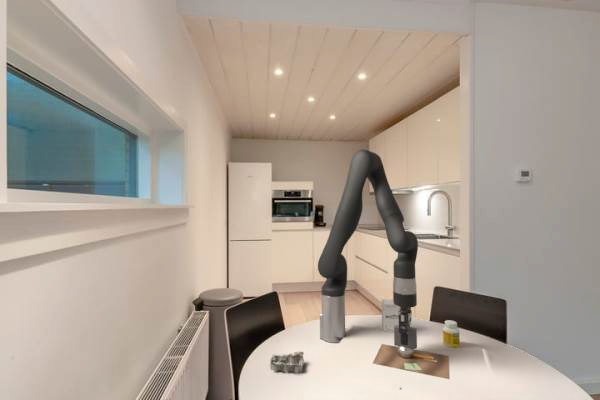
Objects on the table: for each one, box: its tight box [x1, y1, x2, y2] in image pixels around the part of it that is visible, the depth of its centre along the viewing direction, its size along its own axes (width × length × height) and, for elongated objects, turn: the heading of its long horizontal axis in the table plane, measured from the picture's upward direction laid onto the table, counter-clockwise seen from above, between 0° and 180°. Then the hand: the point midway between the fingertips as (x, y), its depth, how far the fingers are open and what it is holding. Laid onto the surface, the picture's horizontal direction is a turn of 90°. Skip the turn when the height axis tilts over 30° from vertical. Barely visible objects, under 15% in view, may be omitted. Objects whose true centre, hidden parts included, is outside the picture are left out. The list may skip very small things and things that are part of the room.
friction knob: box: [393, 325, 433, 360], centre depth 102 cm, size 12×5×9 cm, turn 65°
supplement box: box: [381, 298, 400, 333], centre depth 127 cm, size 7×7×13 cm
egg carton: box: [269, 351, 305, 374], centre depth 98 cm, size 11×8×4 cm
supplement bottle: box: [442, 319, 461, 349], centre depth 111 cm, size 5×5×10 cm
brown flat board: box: [372, 343, 450, 380], centre depth 100 cm, size 22×16×2 cm
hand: (405, 340), depth 103 cm, fingers open, 6 cm apart
